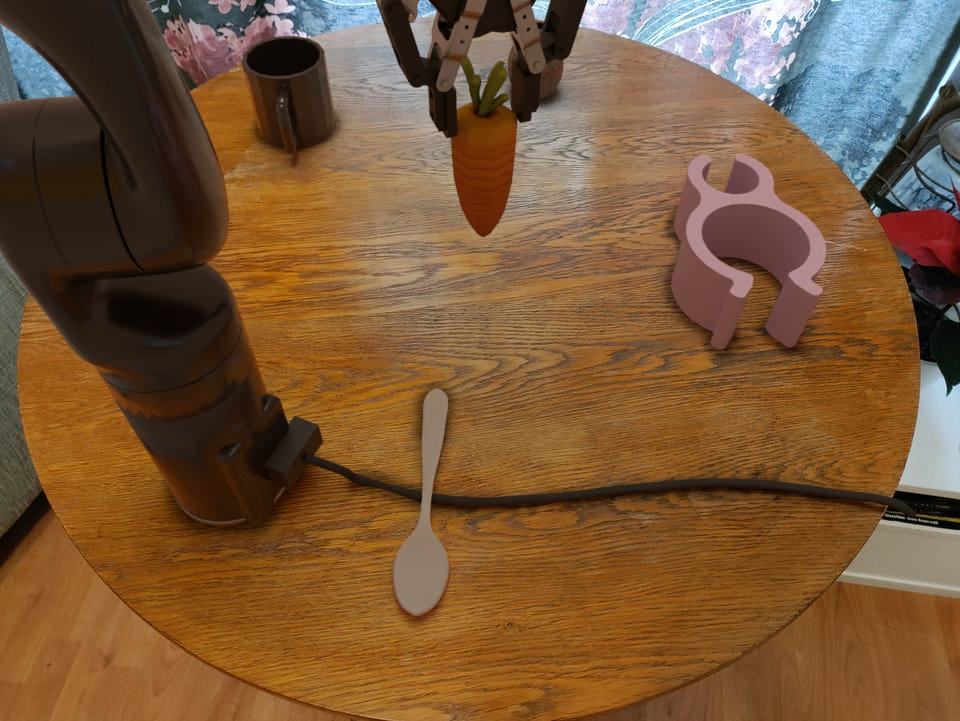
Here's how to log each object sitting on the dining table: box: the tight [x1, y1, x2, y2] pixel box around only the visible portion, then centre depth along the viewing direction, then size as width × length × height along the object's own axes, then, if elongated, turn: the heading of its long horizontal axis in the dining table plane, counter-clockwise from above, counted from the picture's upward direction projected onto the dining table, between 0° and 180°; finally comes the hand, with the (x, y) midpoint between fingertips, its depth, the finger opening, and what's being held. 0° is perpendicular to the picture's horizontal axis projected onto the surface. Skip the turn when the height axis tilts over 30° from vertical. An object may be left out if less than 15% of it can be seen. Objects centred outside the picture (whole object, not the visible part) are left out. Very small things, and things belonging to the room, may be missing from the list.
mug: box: [241, 35, 336, 154], centre depth 87 cm, size 13×9×9 cm
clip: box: [670, 153, 827, 351], centre depth 74 cm, size 20×12×7 cm, turn 3°
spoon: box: [392, 388, 450, 616], centre depth 60 cm, size 4×21×2 cm, turn 178°
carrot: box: [450, 55, 518, 238], centre depth 56 cm, size 5×5×15 cm
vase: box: [507, 19, 565, 101], centre depth 94 cm, size 7×7×9 cm
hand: (484, 122), depth 53 cm, fingers closed on carrot, 5 cm apart
